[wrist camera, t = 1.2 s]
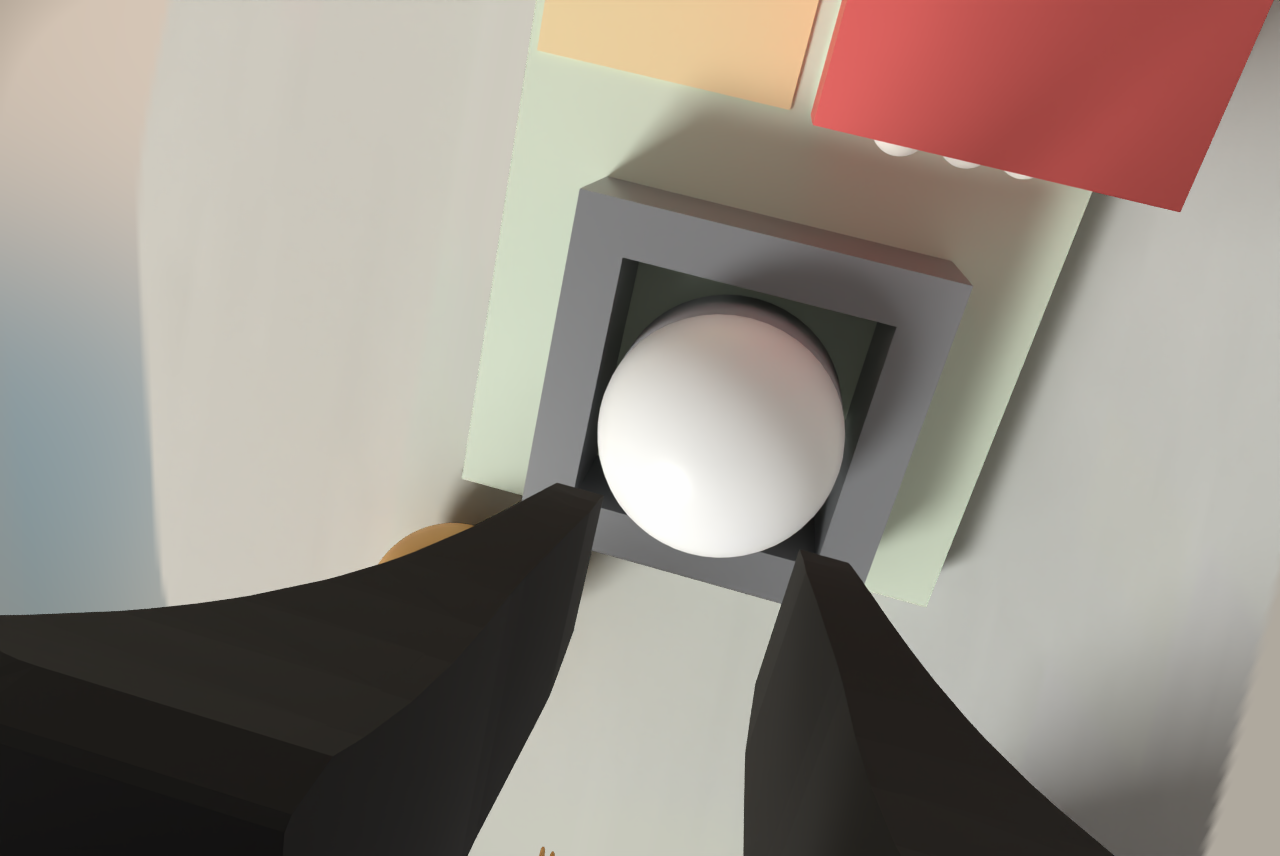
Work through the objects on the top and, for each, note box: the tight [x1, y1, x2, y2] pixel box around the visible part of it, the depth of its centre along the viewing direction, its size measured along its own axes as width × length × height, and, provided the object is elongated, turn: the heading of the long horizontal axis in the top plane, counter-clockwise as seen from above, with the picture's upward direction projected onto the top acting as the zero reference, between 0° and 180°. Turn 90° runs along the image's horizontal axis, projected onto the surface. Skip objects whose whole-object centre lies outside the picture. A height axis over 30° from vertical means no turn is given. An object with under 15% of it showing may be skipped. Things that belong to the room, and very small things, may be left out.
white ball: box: [598, 295, 845, 558], centre depth 16 cm, size 4×4×4 cm
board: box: [462, 0, 1092, 607], centre depth 18 cm, size 16×11×1 cm
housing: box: [522, 176, 973, 604], centre depth 18 cm, size 7×7×2 cm
